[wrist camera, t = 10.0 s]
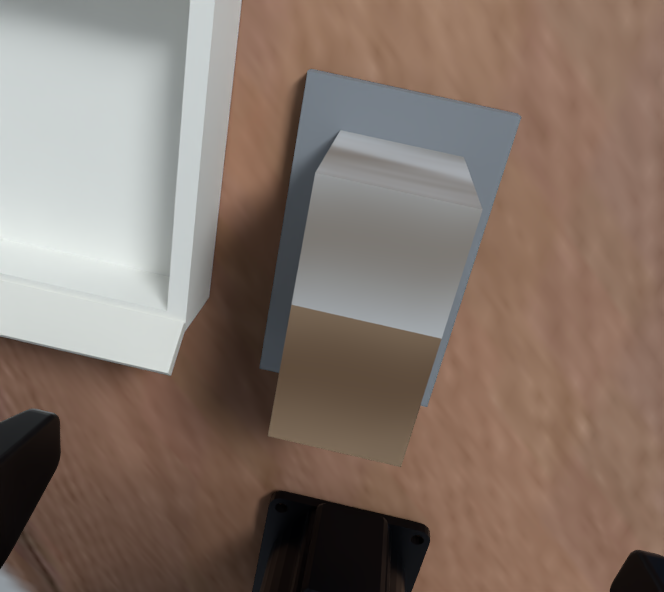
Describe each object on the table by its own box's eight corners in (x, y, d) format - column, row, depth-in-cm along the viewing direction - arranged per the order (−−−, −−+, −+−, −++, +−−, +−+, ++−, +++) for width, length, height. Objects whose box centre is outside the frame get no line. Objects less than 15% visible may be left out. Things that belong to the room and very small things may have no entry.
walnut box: (403, 365, 20) (400, 467, 16) (299, 341, 20) (267, 436, 16) (463, 156, 17) (482, 209, 13) (340, 129, 17) (315, 172, 13)
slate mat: (426, 397, 21) (427, 406, 21) (263, 359, 21) (259, 368, 21) (517, 113, 17) (521, 117, 16) (310, 68, 17) (307, 70, 16)
